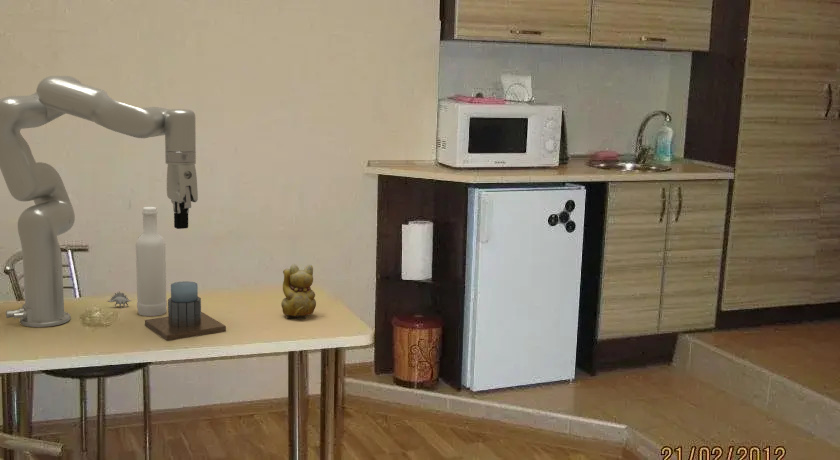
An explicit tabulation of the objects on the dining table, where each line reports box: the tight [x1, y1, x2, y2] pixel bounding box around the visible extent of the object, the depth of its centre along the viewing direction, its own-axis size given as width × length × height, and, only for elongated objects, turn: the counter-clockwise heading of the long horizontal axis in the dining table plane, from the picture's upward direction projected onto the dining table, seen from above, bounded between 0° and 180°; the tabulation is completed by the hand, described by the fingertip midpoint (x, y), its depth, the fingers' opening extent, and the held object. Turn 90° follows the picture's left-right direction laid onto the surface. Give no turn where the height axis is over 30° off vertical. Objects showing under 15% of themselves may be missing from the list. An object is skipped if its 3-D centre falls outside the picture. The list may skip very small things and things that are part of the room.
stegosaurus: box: [106, 291, 132, 309], centre depth 249 cm, size 2×7×5 cm, turn 115°
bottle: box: [135, 206, 168, 317], centre depth 242 cm, size 8×8×30 cm
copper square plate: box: [144, 296, 227, 342], centre depth 231 cm, size 16×16×8 cm
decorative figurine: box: [281, 263, 317, 320], centre depth 244 cm, size 10×8×15 cm
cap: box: [170, 281, 199, 303], centre depth 230 cm, size 7×7×8 cm
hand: (181, 227), depth 227 cm, fingers closed
